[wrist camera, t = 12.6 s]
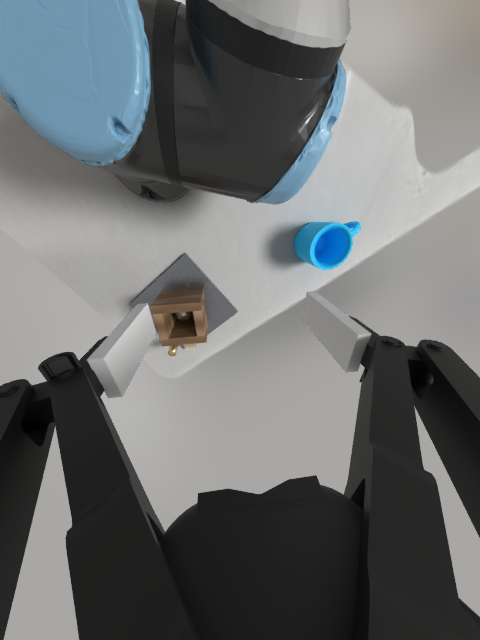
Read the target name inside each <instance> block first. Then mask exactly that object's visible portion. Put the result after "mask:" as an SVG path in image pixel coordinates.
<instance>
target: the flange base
mask: <svg viewBox="0 0 480 640" xmlns="http://www.w3.org/2000/svg"><path fill="white" fill-rule="evenodd" d="M191 289H203V291H204V299H205V306H206V314H207V321H208V329H207V335H208V334H209V333H210V332H212V331H213V330H214V329H216V328H217V327H218V326H220V325H221V324H222V323H224V322H225V321H226V320H228V319H229V318H230V317H232V316H233V315H234V314H236V313H237V312H238V311H237V309H236V308H235V307H234V306H233V305H232V304H231V303H230V302H229V301H228V299H227V298H226V297H225V296H224V295H223V294H222V293H221V292H220V291H219V289H218V288H217V287H216V286H215V285H214V284H213V283H212V282H211V281H210V280H209V278H208V277H207V276H206V275H205V274H204V273H203V272H202V271H201V270H200V268H199V267H198V266H197V265H196V264H195V263H194V262H193V261H192V260H191V258H190V257H189V256H188V255H187V254H186V253H185V254H184V255H183V256H182V257H181V258H180V259H179V260H178V261H176V262H175V263H174V264H173V265H172V266H171V267H170V268H169V269H168V270H167V271H166V272H164V273H163V274H162V275H161V276H160V277H159V278H158V279H157V280H156V281H155V282H153V283H152V284H151V285H150V286H149V287H148V288H147V289H146V290H145V291H144V292H143V293H141V294H140V295H139V296H138V297H137V298H136V299H135V300H134V301H133V302H132V303H130V304H129V305H130V306H131V307H133V308H134V307H135V306H136V305H137V304H144V303H148V306H149V309H150V313H151V316H152V319H153V323H154V325H155V326H156V324H155V321H154V318H153V314H152V311H151V307H150V306H151V304H152V303H153V302H154V300H155V299H156V298H157V296H158V295H159V294H160V292H161V291H176V290H191ZM174 315H175V320H181V321H187V320H189V319H194V315H193V311H189V312H176V313H174ZM180 346H181V347H183V348H184V349H185V347H184V344H181V345H180Z"/></svg>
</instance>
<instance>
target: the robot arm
mask: <svg viewBox="0 0 480 640" xmlns="http://www.w3.org/2000/svg"><path fill="white" fill-rule="evenodd" d="M350 19H351V18H350V2H349V0H186V5H184V4H182V3H181V2H177V1H175V0H0V92H1V94H2V95H3V96H4V98H5V99H6V101H7V102H8V103H9V104H10V105H11V106H12V107H13V108H14V110H15V111H16V112H17V113H18V114H19V115H20V116H21V117H22V118H23V119H24V121H25V122H26V124H27V125H29V126H30V127H31V128H32V129H33V130H34V131H35V132H36V133H37V134H39V135H40V136H41V137H42V138H44V139H45V140H46V141H48V142H49V143H51V144H52V145H54V146H55V147H57V148H59V149H61V150H62V151H63V152H65V153H67V154H68V155H69V156H70V157H72V158H74V159H77V160H79V161H80V162H82V163H85V164H88V165H95V166H97V167H100V168H102V169H105V170H107V171H109V172H112V173H114V174H115V175H116V177H117V178H118V179H119V180H120V181H121V182H122V183H123V184H124V185H125V186H126V187H127V188H128V189H130V190H131V191H132V192H134V193H135V194H137V195H139V196H141V197H143V198H146V199H149V200H152V201H157V202H169V201H173V200H176V199H178V198H180V197H182V196H183V195H184V194H186V193H187V192H188V190H189V189H190V188H192V189H197V190H202V191H206V192H211V193H216V194H221V195H226V196H230V197H235V198H240V199H245V200H246V201H248V202H250V203H258V202H261V203H267V204H280V203H283V202H286V201H288V200H289V199H291V198H292V197H293V196H294V195H295V194H296V193H297V192H298V191H299V190H300V189H301V188H302V187H303V185H304V184H305V183H306V181H307V180H308V178H309V177H310V176H311V174H312V173H313V171H314V169H315V168H316V166H317V164H318V163H319V161H320V159H321V157H322V155H323V153H324V151H325V149H326V147H327V145H328V142H329V140H330V138H331V132H330V130H331V128H332V126H333V125H334V123H335V122H336V120H337V119H338V117H339V114H340V111H341V107H342V104H343V100H344V95H345V87H346V73H345V69H344V67H343V65H342V62H341V60H340V59H339V57H340V55H341V53H342V50H343V48H344V45H345V43H346V41H347V38H348V35H349V33H350V30H351V20H350ZM303 321H304V322H305V324H306V325H307V326H308V327H309V329H310V330H311V331H312V332H313V333H314V335H315V336H316V337H317V338H318V340H319V341H320V342H321V343H322V344H323V346H324V347H325V348H326V349H327V350H328V352H329V353H330V354H331V355H332V356H333V358H334V359H335V360H336V361H337V362H338V364H339V365H340V366H341V367H342V368H343V370H344V371H345V372H354V371H358V369H359V366H360V363H361V364H362V365H363V366H364V367H365V369H364V372H363V374H362V377H361V379H360V382H362V384H361V391H360V398H359V405H358V412H357V420H356V427H355V433H354V441H353V448H352V455H351V462H350V469H349V476H348V481H347V485H346V488H345V492H344V495H343V494H341V493H340V492H338V491H336V490H334V489H332V488H329V487H326V486H323V485H320V484H319V481H318V479H317V476H310V477H303V478H296V479H289V480H287V481H285V482H283V483H281V484H279V485H278V486H276V487H274V488H272V489H270V490H268V491H266V492H265V493H263V494H254V493H248V492H243V491H237V490H232V489H224V490H217V491H210V492H204V493H198V503H197V504H195V505H194V506H192V507H190V508H189V509H187V510H186V511H185V512H184V513H183V514H181V515H180V516H179V517H178V518H177V519H176V520H175V521H174V522H173V523H172V524H171V526H170V527H169V528H168V529H167V531H166V532H165V531H164V529H163V527H162V525H161V523H160V521H159V519H158V518H157V516H156V514H155V512H154V510H153V508H152V506H151V504H150V502H149V499H148V497H147V495H146V493H145V491H144V489H143V487H142V484H141V482H140V480H139V478H138V476H137V474H136V472H135V470H134V467H133V465H132V463H131V461H130V459H129V457H128V455H127V453H126V450H125V448H124V446H123V444H122V442H121V440H120V438H119V435H118V433H117V431H116V429H115V427H114V425H113V423H112V420H111V418H110V416H109V414H108V412H107V410H106V407H105V405H104V403H103V401H102V399H101V398H100V396H101V395H102V393H103V392H104V391H105V393H106V395H107V396H108V398H113V397H121V396H123V395H124V393H125V391H126V389H127V387H128V385H129V383H130V382H131V379H132V378H133V376H134V374H135V372H136V370H137V368H138V366H139V364H140V362H141V361H142V359H143V357H144V355H145V353H146V351H147V349H148V347H149V345H150V343H151V342H152V340H153V338H154V336H155V334H156V330H155V326H154V323H153V319H152V316H151V313H150V309H149V306H148V303H144V304H137V305H136V306H135V307H134V309H133V310H132V311H131V312H130V313H129V314H128V315H127V316H126V317H125V318H124V320H123V321H122V322H121V323H120V324H119V325H118V326H117V327H116V328H115V329H114V331H113V332H112V333H111V334H110V335H109V336H106V337H104V338H102V339H101V340H99V341H98V342H97V343H96V344H95V345H94V346H93V348H91V349H90V350H89V352H87V353H86V354H85V355H84V356H83V357H82V358H81V359H80V360H78V359H77V357H76V355H75V354H74V353H73V352H64V353H60V354H56V355H54V356H52V357H49V358H48V359H46V360H44V361H43V362H42V363H41V364H40V365H39V367H38V369H39V371H40V372H41V373H42V375H43V376H44V377H45V379H46V380H47V381H46V382H43V383H39V384H36V385H31V384H30V383H29V382H28V381H27V380H25V379H20V380H15V381H12V382H9V383H6V384H3V385H2V386H0V640H3V639H4V635H5V631H6V627H7V623H8V619H9V614H10V610H11V606H12V602H13V598H14V594H15V590H16V585H17V581H18V577H19V573H20V569H21V565H22V561H23V557H24V552H25V548H26V544H27V540H28V536H29V532H30V528H31V523H32V519H33V515H34V511H35V507H36V503H37V498H38V494H39V490H40V486H41V482H42V478H43V474H44V470H45V466H46V462H47V457H48V453H49V449H50V445H51V441H52V437H53V433H54V428H55V426H56V431H57V437H58V443H59V448H60V454H61V460H62V465H63V471H64V476H65V482H66V488H67V494H68V499H69V505H70V510H71V516H72V528H70V529H69V530H68V531H67V535H66V549H67V557H68V564H69V570H70V577H71V584H72V591H73V598H74V605H75V612H76V619H77V626H78V633H79V640H480V617H479V616H478V615H477V614H476V613H475V612H474V611H472V610H471V609H470V608H469V607H468V606H467V605H466V604H465V603H464V602H463V601H461V599H459V598H458V593H457V589H456V583H455V578H454V572H453V567H452V561H451V556H450V550H449V545H448V540H447V534H446V529H445V524H444V518H443V513H442V508H441V502H440V497H439V492H438V486H437V483H436V480H435V478H434V476H433V475H432V474H431V473H429V472H427V471H425V470H424V468H423V464H422V457H421V451H420V443H419V436H418V429H417V422H416V416H415V409H414V406H415V408H416V410H417V412H418V414H419V416H420V418H421V420H422V421H423V424H424V426H425V428H426V430H427V432H428V434H429V436H430V438H431V440H432V442H433V444H434V446H435V448H436V450H437V452H438V454H439V456H440V458H441V460H442V462H443V464H444V466H445V468H446V470H447V472H448V474H449V476H450V478H451V481H452V483H453V484H454V487H455V488H456V491H457V493H458V494H459V497H460V499H461V500H462V502H463V505H464V507H465V509H466V511H467V513H468V515H469V517H470V519H471V521H472V523H473V525H474V527H475V529H476V531H477V533H478V535H479V537H480V378H479V376H478V375H477V374H476V373H475V372H474V371H473V370H472V369H471V368H470V367H469V366H468V365H467V364H466V363H465V362H464V361H463V360H462V359H461V358H460V357H459V356H458V355H457V354H456V353H455V352H454V351H453V350H452V349H451V348H450V347H448V346H447V345H445V344H443V343H441V342H438V341H432V340H421V341H420V342H419V344H418V346H417V347H413V346H405V344H404V343H403V342H401V341H400V340H398V339H396V338H393V337H388V336H379V335H378V334H377V333H375V332H373V331H372V330H371V329H370V328H368V327H366V326H365V325H364V324H362V323H361V322H360V321H359V320H357V319H356V318H353V317H351V316H347V315H346V314H345V313H343V312H342V311H341V310H339V309H338V308H337V307H335V306H334V305H333V304H331V303H330V302H329V301H327V300H326V299H325V298H323V297H322V296H321V295H320V294H318V293H317V292H316V291H314V292H307V294H306V301H305V307H304V314H303Z"/></svg>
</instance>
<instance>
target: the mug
mask: <svg viewBox="0 0 480 640" xmlns="http://www.w3.org/2000/svg"><path fill="white" fill-rule="evenodd" d="M351 228H353V229H352V230H351V231H350V229H351ZM360 228H361V225H360V223H359V222H349V223H346V224H340V223H326V222H312V223H309V224H307V225H305V226H304V227H303V228H301V230H300V231H299V232H298V234H297V236H296V238H295V243H294V248H295V253H296V254H297V256H298V257H299V258H300V259H301V260H303V261H305V262H307V263H309V264H311V265H313V266H315V267H317V268H320V269H323V270H328V269H333V268H335V267H337V266H339V265H340V264H341V263H343V262H344V260H345V259H346V258H347V257H348V255H349V253H350V251H351V248H352V244H353V236H354V235H355V234H357V233H358V231H359V230H360Z"/></svg>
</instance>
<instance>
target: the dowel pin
mask: <svg viewBox="0 0 480 640" xmlns="http://www.w3.org/2000/svg"><path fill="white" fill-rule="evenodd" d="M177 349H178V345H170V348H169V351H168V354H169V355H170V356H175V355H176V352H177Z"/></svg>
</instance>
